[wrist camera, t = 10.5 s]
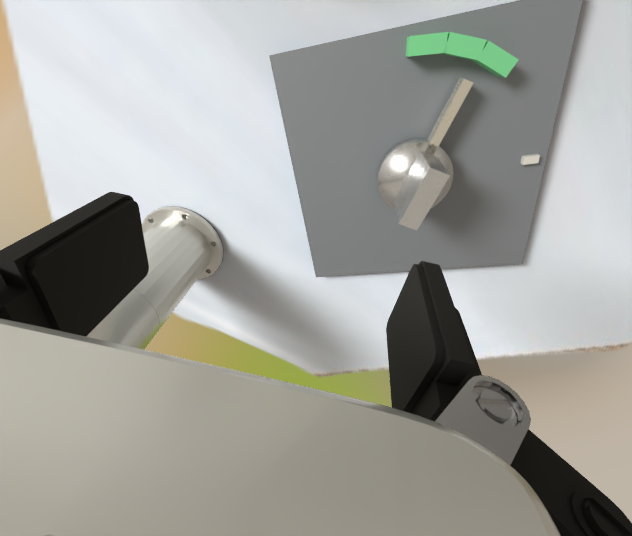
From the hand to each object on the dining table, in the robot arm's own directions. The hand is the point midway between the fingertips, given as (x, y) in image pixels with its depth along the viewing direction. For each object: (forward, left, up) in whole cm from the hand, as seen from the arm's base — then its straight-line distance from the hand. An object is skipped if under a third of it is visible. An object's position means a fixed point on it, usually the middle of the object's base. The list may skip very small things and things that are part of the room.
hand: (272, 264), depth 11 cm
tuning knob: (+9, -4, -28) cm, 30 cm away
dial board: (+8, -7, -30) cm, 32 cm away
